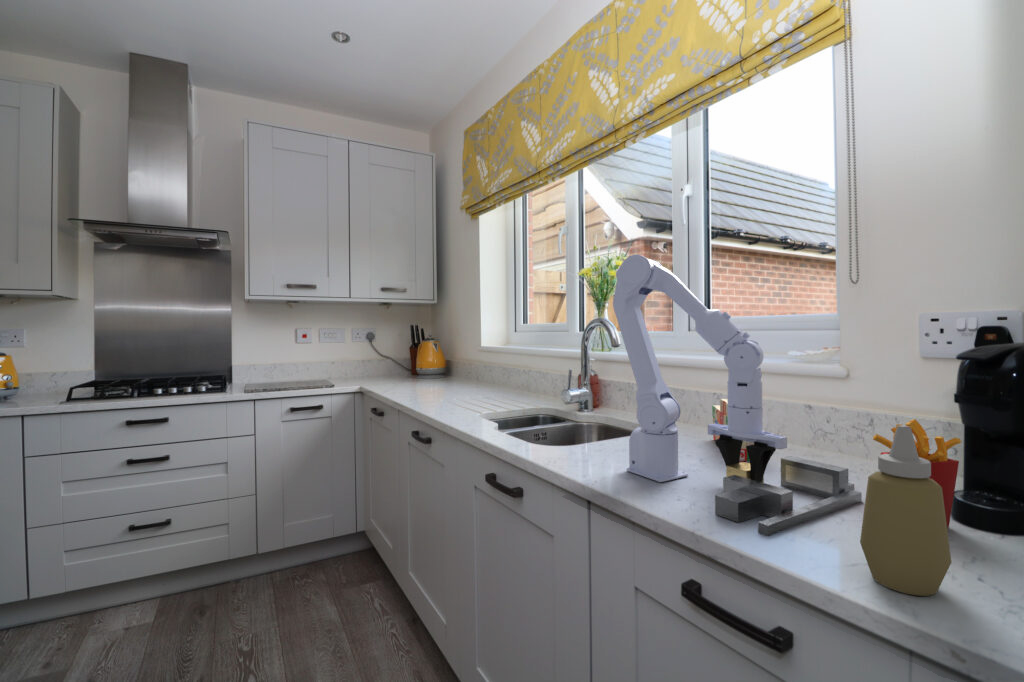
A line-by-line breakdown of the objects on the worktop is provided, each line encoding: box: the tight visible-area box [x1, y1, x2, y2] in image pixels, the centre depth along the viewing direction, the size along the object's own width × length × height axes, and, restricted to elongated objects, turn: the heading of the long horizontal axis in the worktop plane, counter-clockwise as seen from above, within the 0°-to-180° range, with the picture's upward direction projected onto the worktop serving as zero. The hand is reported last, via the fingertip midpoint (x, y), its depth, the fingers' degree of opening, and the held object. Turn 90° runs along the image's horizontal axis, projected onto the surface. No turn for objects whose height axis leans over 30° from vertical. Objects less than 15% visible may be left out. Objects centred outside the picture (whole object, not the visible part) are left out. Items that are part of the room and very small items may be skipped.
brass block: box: [725, 462, 765, 483], centre depth 88 cm, size 4×5×4 cm
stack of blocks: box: [711, 398, 764, 461], centre depth 116 cm, size 21×6×12 cm, turn 168°
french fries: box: [872, 418, 962, 528], centre depth 73 cm, size 9×8×15 cm
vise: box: [757, 455, 863, 537], centre depth 80 cm, size 12×28×5 cm, turn 120°
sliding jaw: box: [714, 475, 794, 524], centre depth 77 cm, size 10×9×4 cm
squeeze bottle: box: [859, 425, 952, 597], centre depth 55 cm, size 8×8×18 cm
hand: (744, 480), depth 89 cm, fingers closed on brass block, 4 cm apart
